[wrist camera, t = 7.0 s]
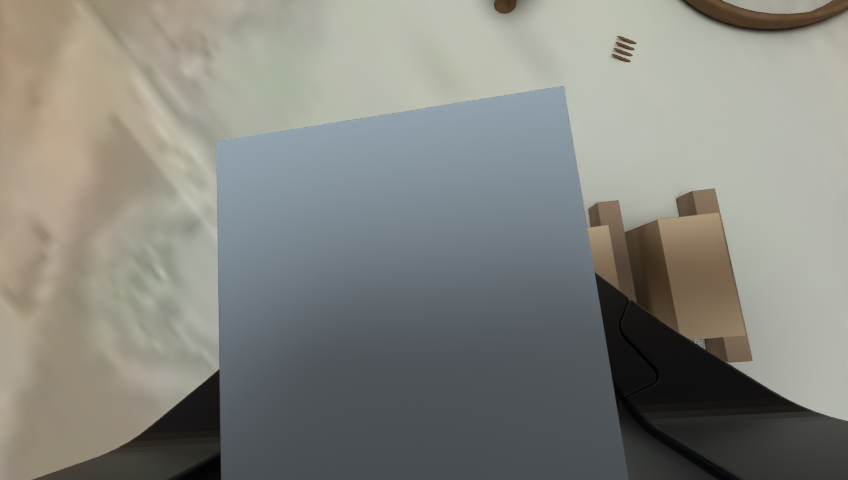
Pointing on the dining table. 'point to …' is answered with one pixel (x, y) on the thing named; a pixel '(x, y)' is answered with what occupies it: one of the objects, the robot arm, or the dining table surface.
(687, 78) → the dining table surface
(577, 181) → the batten
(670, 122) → the dining table surface
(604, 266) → the oak offcut
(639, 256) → the oak offcut
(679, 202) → the rack
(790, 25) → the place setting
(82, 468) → the robot arm
